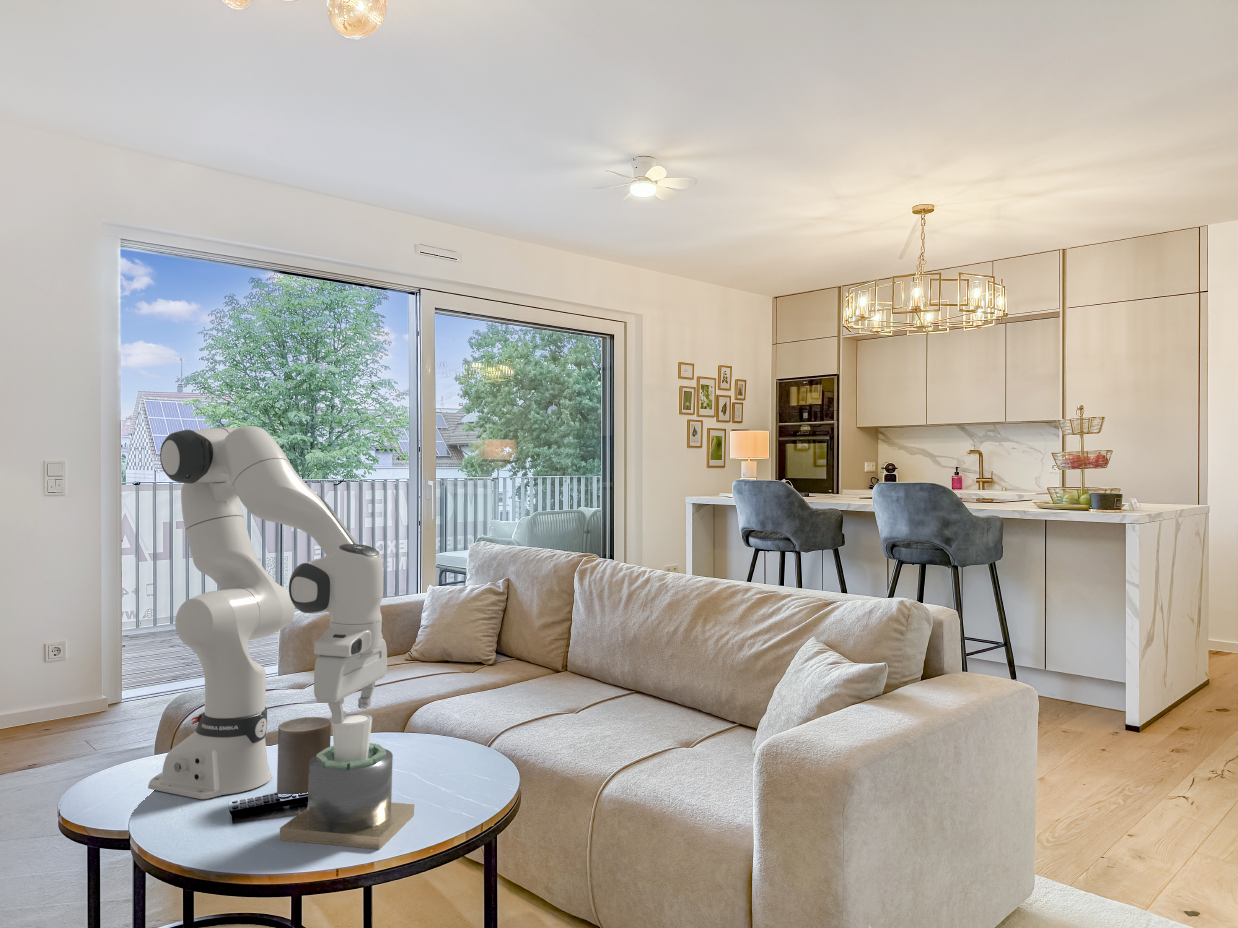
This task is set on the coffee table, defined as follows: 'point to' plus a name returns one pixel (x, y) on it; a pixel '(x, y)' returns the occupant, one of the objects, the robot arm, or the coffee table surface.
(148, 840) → the coffee table surface
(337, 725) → the white cylinder
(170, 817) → the coffee table surface
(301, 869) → the coffee table surface
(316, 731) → the pillar candle
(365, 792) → the green-rimmed dark canister
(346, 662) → the robot arm
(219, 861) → the coffee table surface
